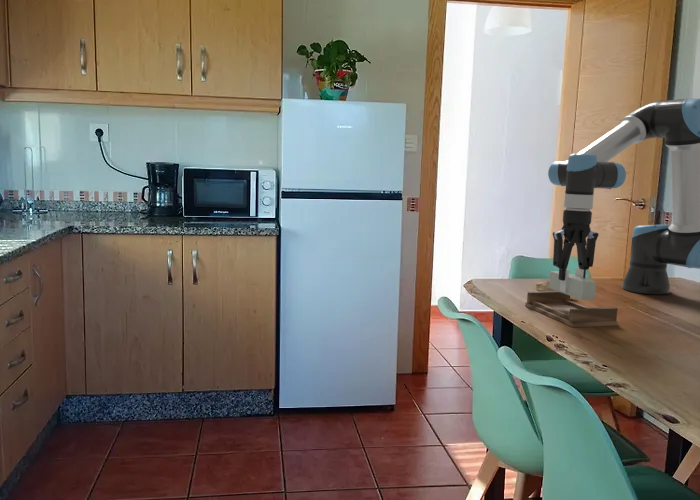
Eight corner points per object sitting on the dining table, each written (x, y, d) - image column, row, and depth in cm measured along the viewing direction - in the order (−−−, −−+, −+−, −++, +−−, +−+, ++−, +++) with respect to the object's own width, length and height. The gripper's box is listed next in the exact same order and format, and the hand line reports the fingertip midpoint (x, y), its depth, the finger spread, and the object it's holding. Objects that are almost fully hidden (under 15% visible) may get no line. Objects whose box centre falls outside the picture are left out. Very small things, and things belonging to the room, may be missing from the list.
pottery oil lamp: (578, 300, 194) (572, 282, 191) (540, 309, 199) (533, 291, 196) (577, 286, 201) (571, 268, 199) (540, 294, 206) (534, 277, 204)
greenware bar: (560, 287, 183) (561, 271, 183) (594, 299, 168) (596, 281, 167) (548, 287, 182) (550, 271, 182) (581, 300, 167) (583, 282, 166)
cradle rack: (525, 305, 186) (526, 291, 185) (565, 304, 190) (566, 290, 189) (573, 327, 163) (574, 310, 162) (618, 325, 167) (619, 308, 166)
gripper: (595, 208, 178) (588, 288, 181) (543, 208, 173) (536, 289, 177) (612, 211, 171) (604, 293, 174) (558, 210, 166) (551, 295, 170)
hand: (570, 291), depth 175 cm, fingers closed on greenware bar, 4 cm apart
